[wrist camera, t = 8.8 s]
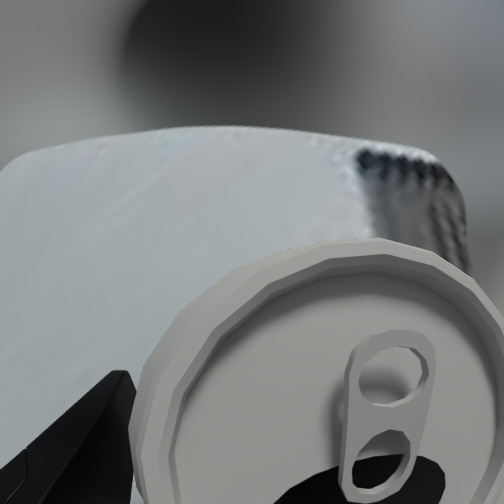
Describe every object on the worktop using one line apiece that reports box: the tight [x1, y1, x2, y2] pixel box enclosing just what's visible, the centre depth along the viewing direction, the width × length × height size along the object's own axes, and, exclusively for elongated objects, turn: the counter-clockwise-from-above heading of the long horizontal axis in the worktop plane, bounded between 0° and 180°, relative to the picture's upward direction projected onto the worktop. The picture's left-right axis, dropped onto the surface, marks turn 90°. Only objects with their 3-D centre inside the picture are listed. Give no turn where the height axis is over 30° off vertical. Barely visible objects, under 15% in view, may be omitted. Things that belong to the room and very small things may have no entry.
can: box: [128, 238, 504, 504], centre depth 8 cm, size 8×8×12 cm
